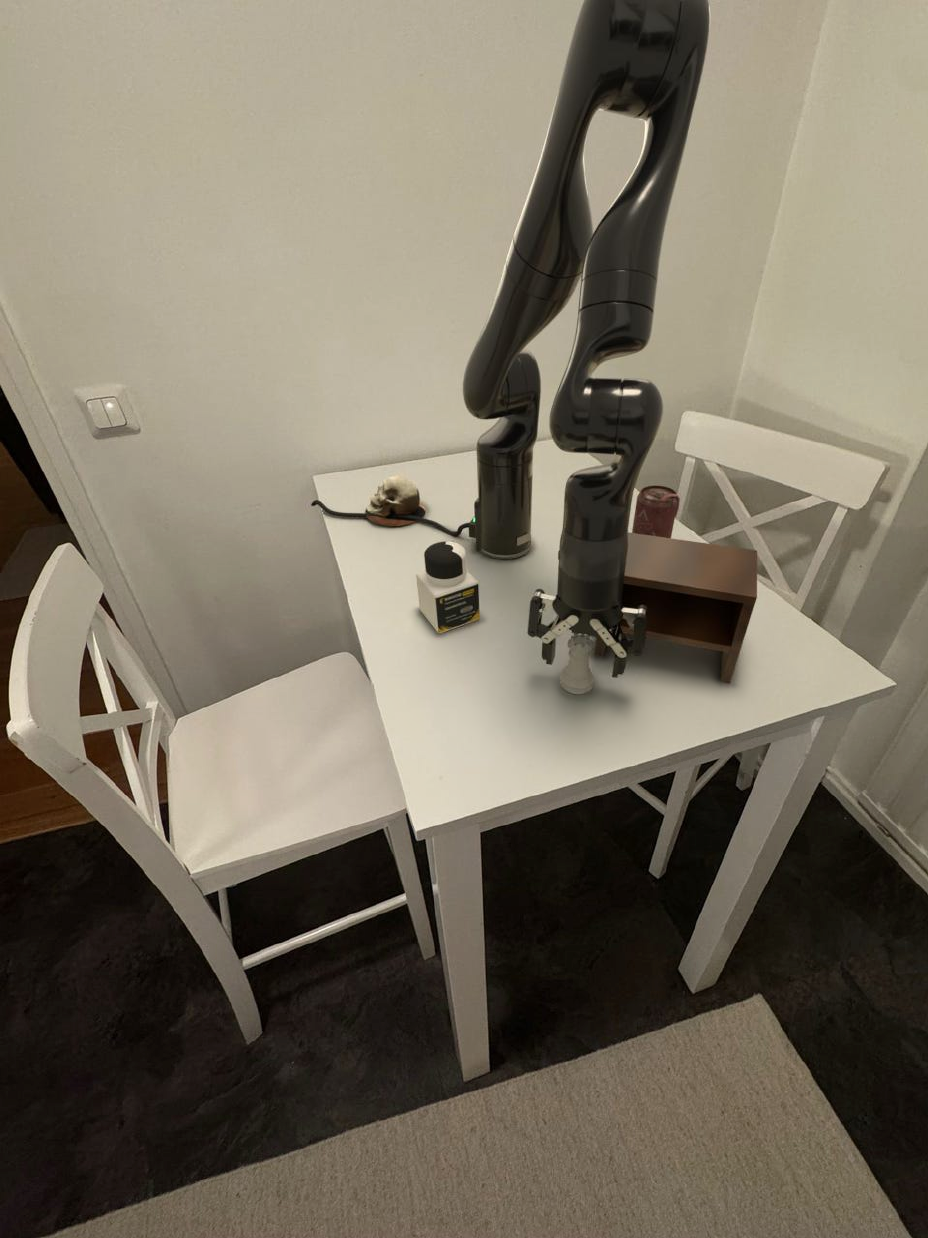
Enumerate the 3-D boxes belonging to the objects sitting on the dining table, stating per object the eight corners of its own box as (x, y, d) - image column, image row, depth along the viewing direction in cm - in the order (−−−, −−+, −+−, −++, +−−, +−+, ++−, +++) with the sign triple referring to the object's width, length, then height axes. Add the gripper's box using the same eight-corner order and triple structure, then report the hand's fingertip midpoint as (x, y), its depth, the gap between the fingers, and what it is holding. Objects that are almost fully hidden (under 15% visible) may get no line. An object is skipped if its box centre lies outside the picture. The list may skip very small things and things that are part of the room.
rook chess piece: (585, 700, 78) (590, 654, 73) (554, 688, 80) (557, 642, 75) (598, 679, 81) (604, 633, 76) (568, 668, 83) (571, 623, 78)
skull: (356, 524, 116) (358, 472, 117) (372, 536, 126) (374, 488, 127) (417, 524, 114) (419, 471, 115) (428, 535, 124) (430, 487, 125)
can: (667, 580, 99) (682, 502, 90) (627, 577, 100) (638, 500, 91) (665, 560, 103) (679, 484, 95) (627, 557, 105) (637, 482, 96)
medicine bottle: (438, 634, 90) (432, 567, 83) (419, 610, 95) (411, 544, 88) (480, 619, 93) (478, 553, 85) (459, 596, 98) (455, 531, 90)
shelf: (593, 655, 85) (603, 572, 76) (608, 610, 93) (618, 530, 84) (730, 683, 80) (757, 597, 71) (732, 632, 88) (757, 550, 79)
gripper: (660, 552, 69) (642, 659, 79) (539, 536, 74) (536, 639, 83) (652, 588, 64) (634, 698, 74) (522, 568, 68) (521, 674, 78)
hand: (582, 667), depth 78 cm, fingers open, 8 cm apart
